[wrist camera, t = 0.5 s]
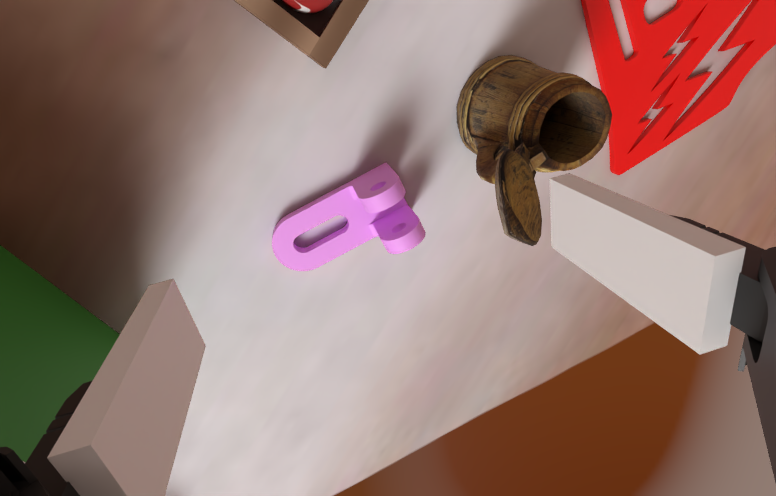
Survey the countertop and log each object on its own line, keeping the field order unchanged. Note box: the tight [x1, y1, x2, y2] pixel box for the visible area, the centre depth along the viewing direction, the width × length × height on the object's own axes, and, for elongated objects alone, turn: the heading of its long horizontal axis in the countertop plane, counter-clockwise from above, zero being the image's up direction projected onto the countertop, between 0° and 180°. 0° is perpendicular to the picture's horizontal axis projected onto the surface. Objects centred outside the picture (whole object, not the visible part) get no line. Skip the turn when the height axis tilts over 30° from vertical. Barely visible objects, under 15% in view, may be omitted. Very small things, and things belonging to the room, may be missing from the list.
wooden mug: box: [457, 55, 612, 246], centre depth 32 cm, size 9×14×18 cm, turn 122°
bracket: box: [272, 162, 425, 271], centre depth 38 cm, size 13×6×7 cm, turn 116°
